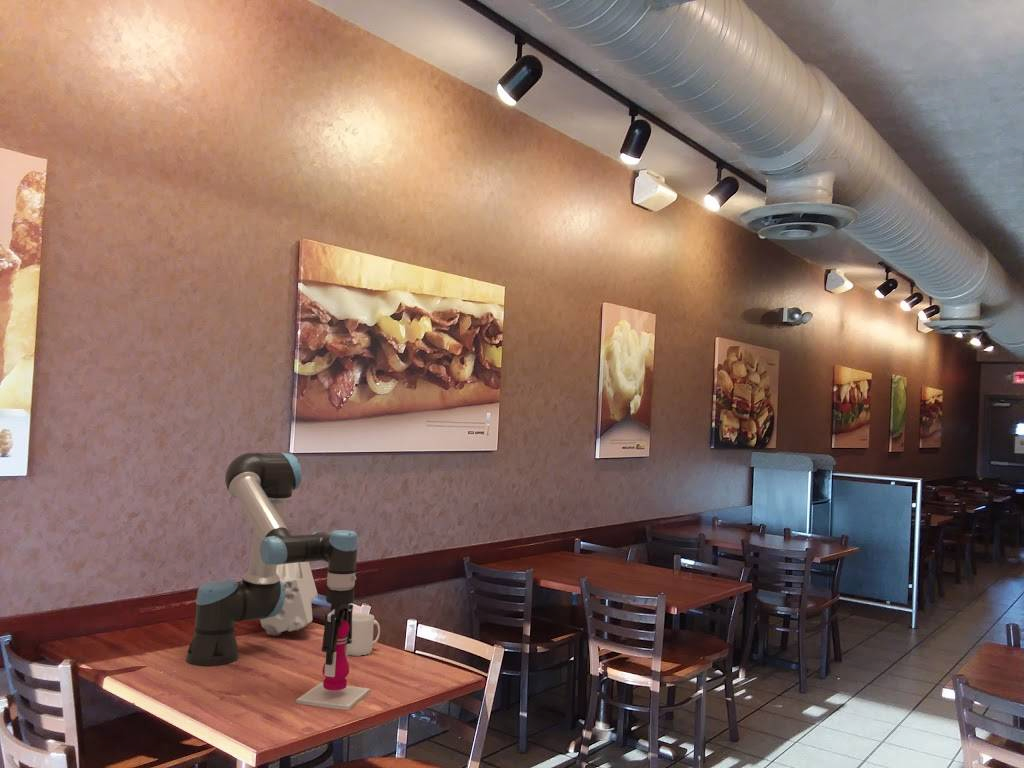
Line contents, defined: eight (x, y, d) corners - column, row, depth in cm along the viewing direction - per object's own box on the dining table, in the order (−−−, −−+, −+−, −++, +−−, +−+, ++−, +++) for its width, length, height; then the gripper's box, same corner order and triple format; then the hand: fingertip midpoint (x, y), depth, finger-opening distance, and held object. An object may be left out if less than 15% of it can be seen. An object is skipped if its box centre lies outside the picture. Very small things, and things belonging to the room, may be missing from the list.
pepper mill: (325, 692, 215) (329, 617, 216) (318, 684, 221) (323, 610, 222) (351, 689, 218) (356, 615, 219) (344, 681, 225) (348, 609, 226)
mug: (336, 651, 262) (339, 615, 263) (366, 645, 271) (368, 610, 272) (354, 658, 256) (356, 621, 257) (384, 652, 265) (386, 616, 265)
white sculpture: (310, 633, 272) (290, 562, 274) (265, 647, 272) (245, 575, 274) (325, 619, 292) (306, 553, 294) (283, 632, 292) (265, 566, 294)
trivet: (296, 703, 214) (296, 699, 214) (320, 686, 228) (320, 682, 229) (348, 710, 211) (348, 706, 211) (370, 692, 225) (370, 688, 225)
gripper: (338, 596, 211) (333, 684, 209) (367, 582, 230) (362, 663, 229) (312, 593, 212) (306, 681, 211) (342, 579, 232) (338, 660, 231)
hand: (335, 671), depth 220 cm, fingers closed on pepper mill, 7 cm apart
